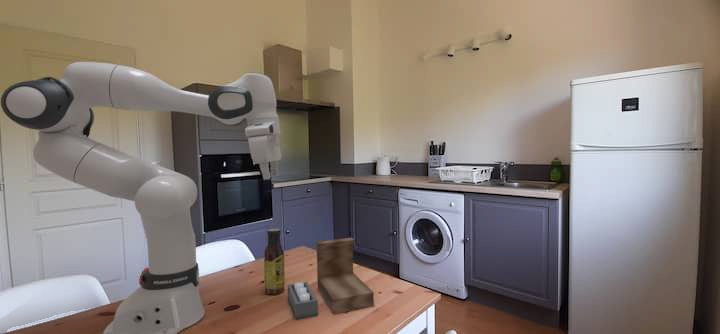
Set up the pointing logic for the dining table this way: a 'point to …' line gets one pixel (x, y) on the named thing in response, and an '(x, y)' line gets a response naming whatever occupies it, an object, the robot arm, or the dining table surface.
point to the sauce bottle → (274, 264)
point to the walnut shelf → (340, 277)
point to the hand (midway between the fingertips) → (271, 177)
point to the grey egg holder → (302, 300)
